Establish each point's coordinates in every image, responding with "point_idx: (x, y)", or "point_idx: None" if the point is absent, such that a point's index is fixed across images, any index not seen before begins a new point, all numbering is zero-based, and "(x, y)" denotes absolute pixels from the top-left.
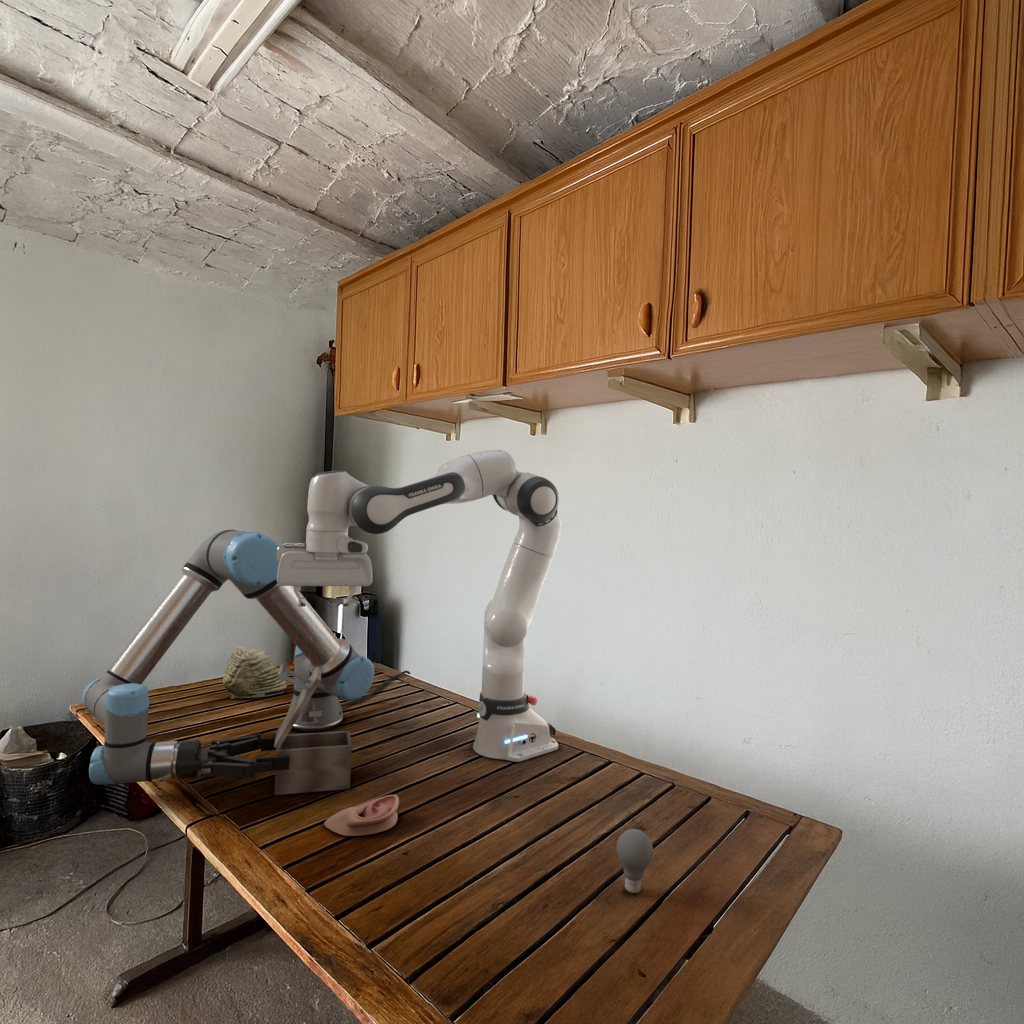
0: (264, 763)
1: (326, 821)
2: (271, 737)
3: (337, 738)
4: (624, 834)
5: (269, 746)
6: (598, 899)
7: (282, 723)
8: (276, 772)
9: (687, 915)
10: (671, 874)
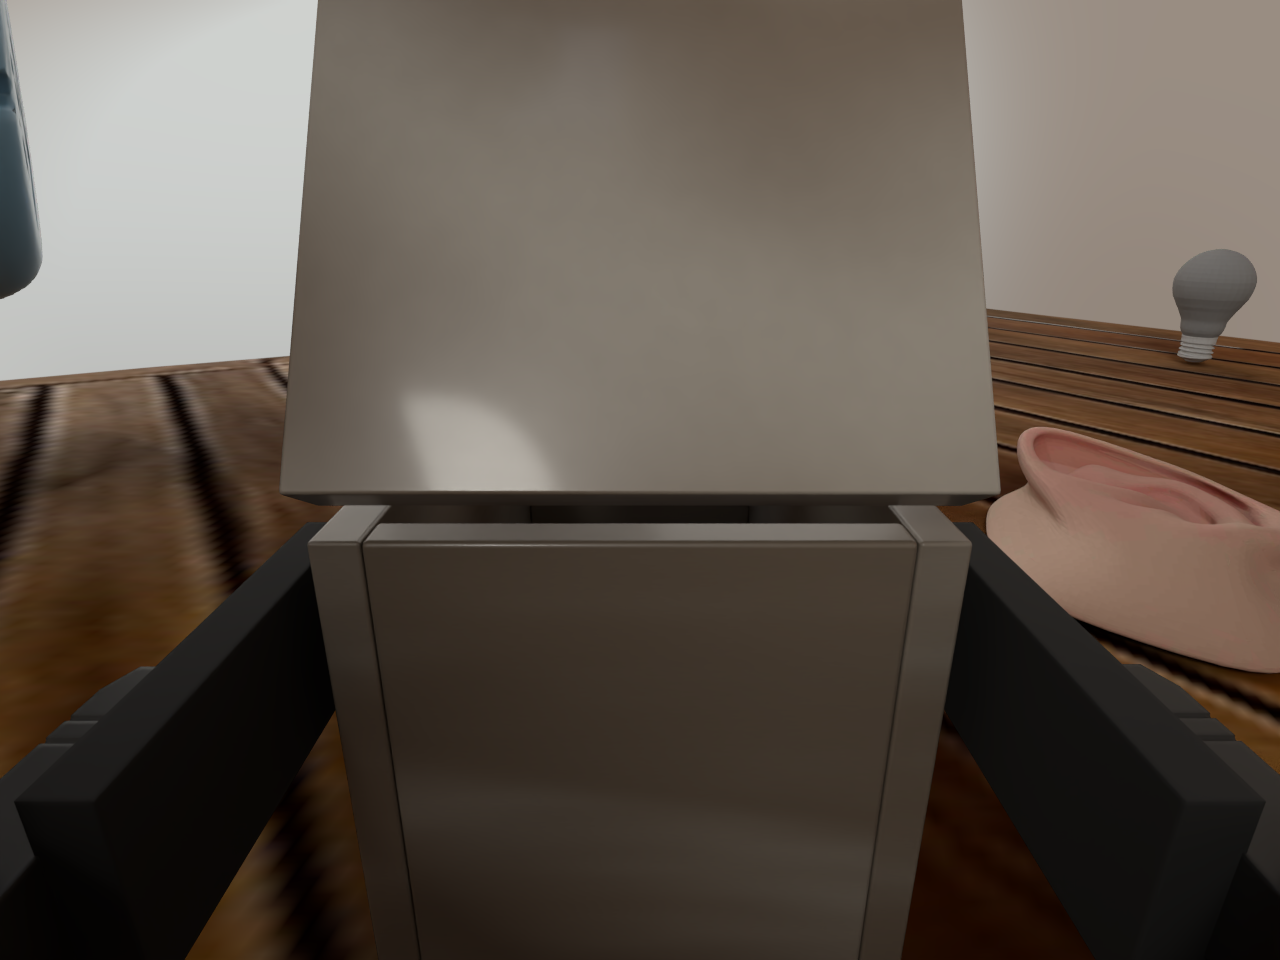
0: (1224, 732)
1: (1265, 652)
2: (158, 667)
3: None
4: (1228, 258)
5: (228, 801)
6: (1252, 379)
7: (404, 305)
8: (926, 792)
9: (1226, 352)
10: (1102, 346)
